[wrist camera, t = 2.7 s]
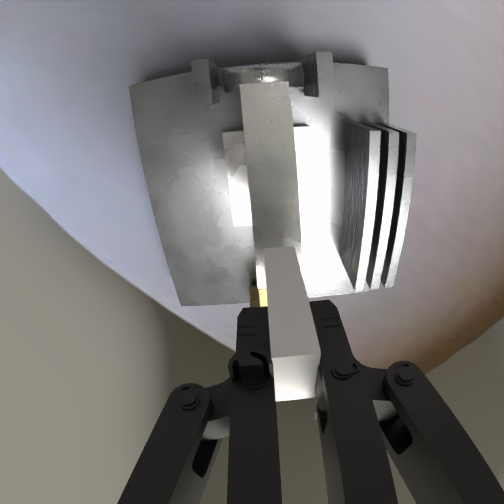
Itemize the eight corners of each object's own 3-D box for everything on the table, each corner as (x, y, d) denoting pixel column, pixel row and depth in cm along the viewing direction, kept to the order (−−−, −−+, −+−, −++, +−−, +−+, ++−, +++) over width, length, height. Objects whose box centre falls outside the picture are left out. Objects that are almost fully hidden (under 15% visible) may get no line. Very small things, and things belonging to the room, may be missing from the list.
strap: (224, 73, 13) (221, 64, 12) (298, 68, 13) (302, 59, 11) (243, 280, 16) (242, 290, 15) (313, 275, 16) (318, 284, 15)
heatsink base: (144, 83, 16) (97, 84, 10) (369, 67, 16) (420, 63, 10) (187, 284, 26) (172, 342, 20) (359, 270, 25) (385, 324, 19)
